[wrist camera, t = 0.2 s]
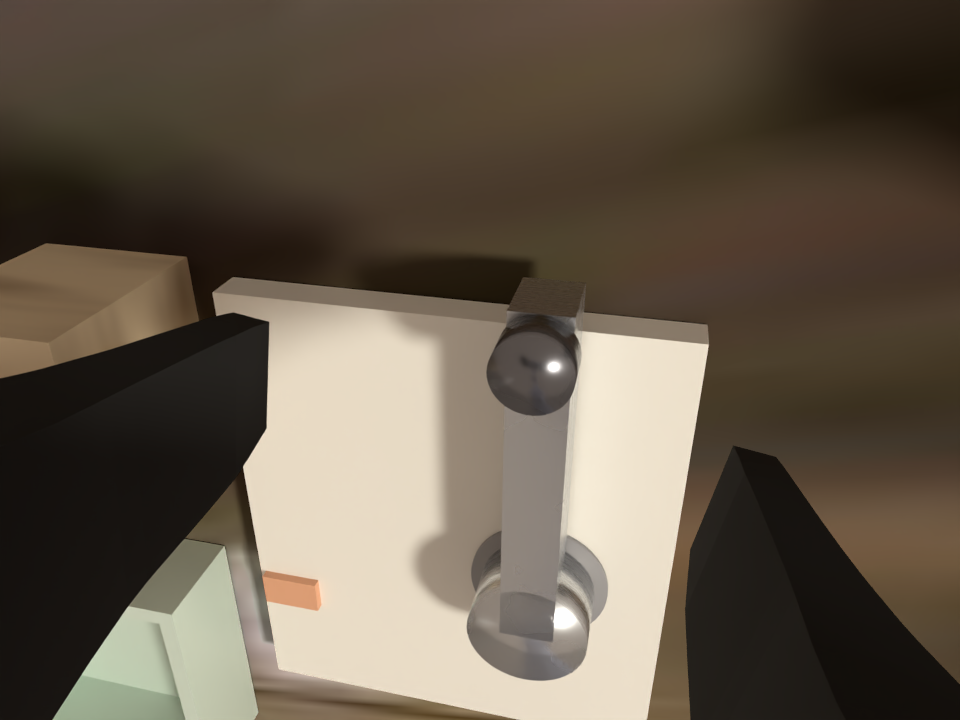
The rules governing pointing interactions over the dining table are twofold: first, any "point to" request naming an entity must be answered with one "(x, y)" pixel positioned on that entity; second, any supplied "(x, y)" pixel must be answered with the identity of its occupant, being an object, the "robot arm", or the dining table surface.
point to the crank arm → (536, 492)
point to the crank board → (455, 492)
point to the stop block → (87, 303)
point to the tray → (172, 649)
